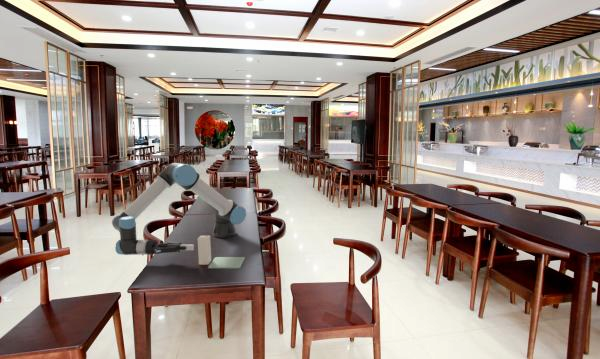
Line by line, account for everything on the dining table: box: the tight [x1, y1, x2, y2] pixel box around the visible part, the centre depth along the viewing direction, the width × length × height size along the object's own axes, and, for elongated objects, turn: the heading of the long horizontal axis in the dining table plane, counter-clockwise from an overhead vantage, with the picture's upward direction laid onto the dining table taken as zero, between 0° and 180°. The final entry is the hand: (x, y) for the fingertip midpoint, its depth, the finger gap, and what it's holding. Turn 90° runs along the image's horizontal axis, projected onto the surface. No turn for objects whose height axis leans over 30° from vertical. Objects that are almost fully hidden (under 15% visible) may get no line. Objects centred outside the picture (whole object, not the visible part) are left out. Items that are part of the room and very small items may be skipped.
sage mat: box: [207, 256, 246, 269], centre depth 179 cm, size 14×16×1 cm
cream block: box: [197, 235, 212, 266], centre depth 179 cm, size 5×5×14 cm
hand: (193, 247), depth 179 cm, fingers closed
